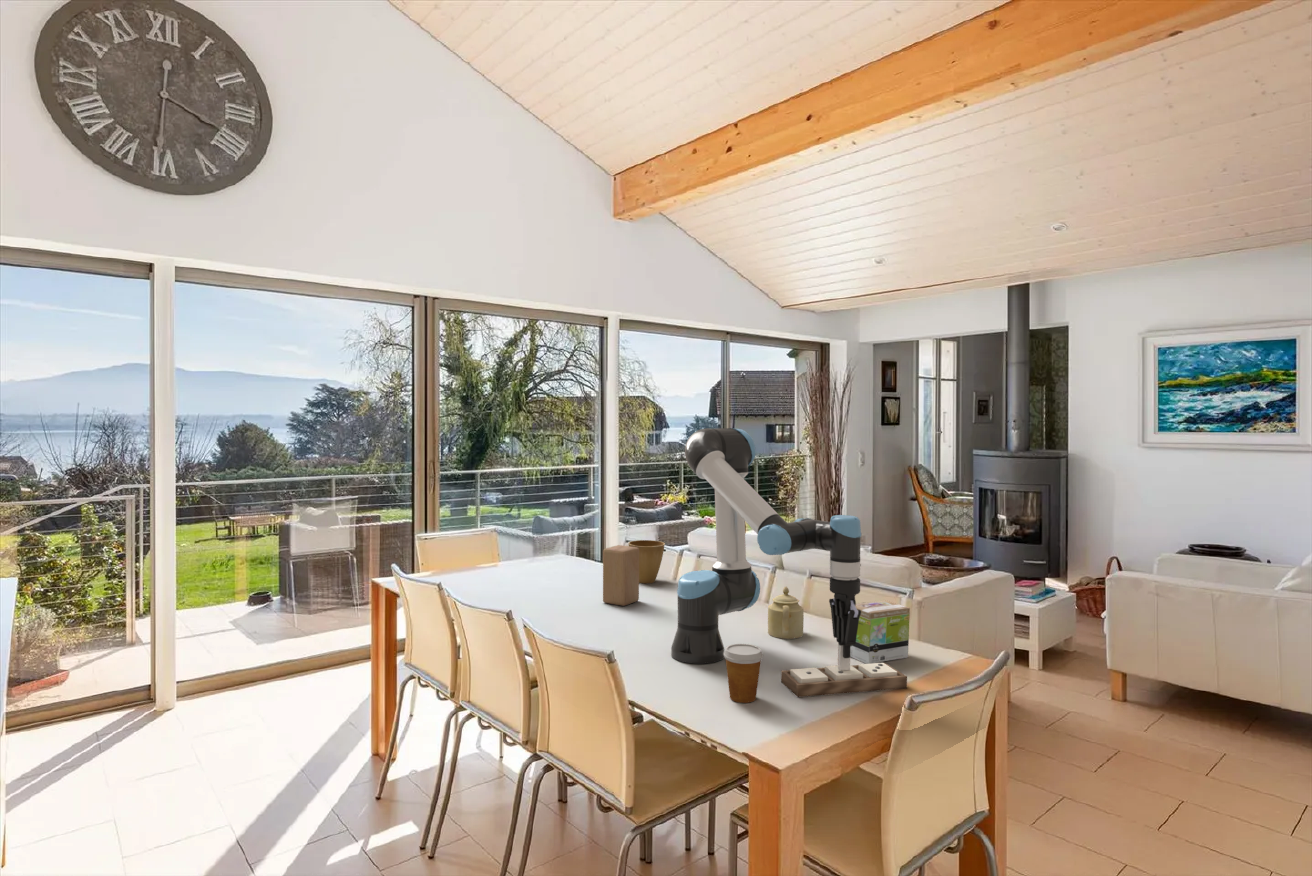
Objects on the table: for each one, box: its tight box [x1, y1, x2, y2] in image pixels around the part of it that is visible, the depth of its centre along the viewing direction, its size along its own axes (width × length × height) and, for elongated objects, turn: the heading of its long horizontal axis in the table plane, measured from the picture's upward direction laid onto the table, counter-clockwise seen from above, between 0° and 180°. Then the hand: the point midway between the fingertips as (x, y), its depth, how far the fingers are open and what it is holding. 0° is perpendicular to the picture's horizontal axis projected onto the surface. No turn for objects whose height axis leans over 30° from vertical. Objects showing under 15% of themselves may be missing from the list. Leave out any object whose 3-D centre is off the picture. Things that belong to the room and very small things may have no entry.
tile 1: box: [789, 667, 828, 683], centre depth 187 cm, size 7×7×3 cm
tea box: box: [850, 599, 911, 664], centre depth 212 cm, size 15×10×15 cm, turn 117°
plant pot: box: [628, 539, 666, 584], centre depth 306 cm, size 15×15×16 cm
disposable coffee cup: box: [724, 643, 764, 704], centre depth 180 cm, size 10×10×12 cm
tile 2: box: [824, 664, 863, 681], centre depth 189 cm, size 7×7×3 cm
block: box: [602, 544, 640, 607], centre depth 272 cm, size 10×10×20 cm
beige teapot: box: [767, 586, 805, 640], centre depth 232 cm, size 15×11×15 cm
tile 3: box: [858, 662, 898, 678], centre depth 191 cm, size 7×7×3 cm
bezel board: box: [780, 662, 908, 698], centre depth 189 cm, size 30×10×3 cm, turn 103°
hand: (843, 669), depth 189 cm, fingers closed
